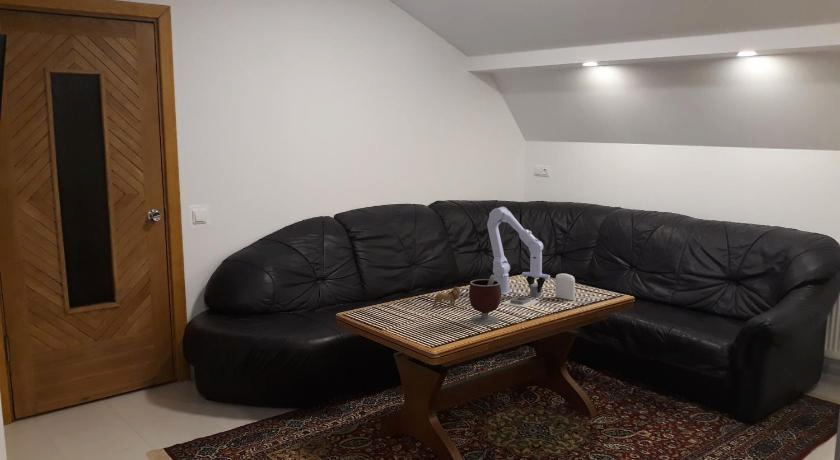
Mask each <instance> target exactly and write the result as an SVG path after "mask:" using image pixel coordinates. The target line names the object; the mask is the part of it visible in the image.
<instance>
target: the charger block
mask: <svg viewBox="0 0 840 460" xmlns="http://www.w3.org/2000/svg"><path fill="white" fill-rule="evenodd" d="M529 290H530V292H529V293H530V295H529V298H535V297H537V298H540V297H541V296H542V291H541V292H540V293H538V283H537V282H536V283H535V282H534V284H532V285H530V287H529Z"/></svg>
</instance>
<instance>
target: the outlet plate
mask: <svg viewBox="0 0 840 460" xmlns="http://www.w3.org/2000/svg"><path fill="white" fill-rule="evenodd" d="M538 303H540V300H536V299H532V297H526V296H525V297H524V296H515V297H513V298H511V299H508V300H506V301H503V302H500V305H501V304H502V305H505V306H506V305H507V306H510V307H511V306H512V307H517V308H523V309H524V308H525V309H526V308H529V307H531V306H533V305H536V304H538Z"/></svg>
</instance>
